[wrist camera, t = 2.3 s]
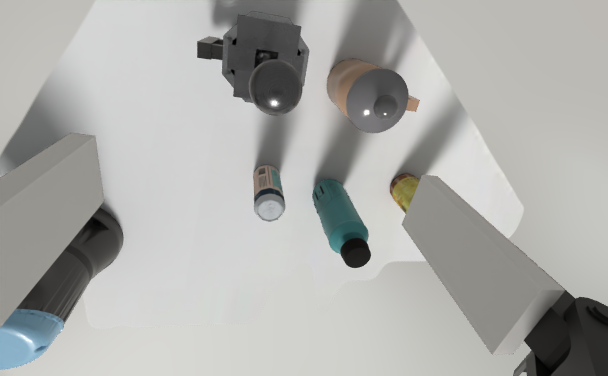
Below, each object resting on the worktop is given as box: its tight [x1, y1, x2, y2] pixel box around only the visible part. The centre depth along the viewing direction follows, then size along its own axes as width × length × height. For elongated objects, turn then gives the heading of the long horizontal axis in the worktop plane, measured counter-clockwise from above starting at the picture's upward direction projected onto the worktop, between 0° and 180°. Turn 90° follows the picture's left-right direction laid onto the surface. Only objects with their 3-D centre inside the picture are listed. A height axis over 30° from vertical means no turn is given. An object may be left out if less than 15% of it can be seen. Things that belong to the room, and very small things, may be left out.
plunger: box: [249, 49, 302, 115], centre depth 28 cm, size 6×6×20 cm
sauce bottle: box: [390, 174, 420, 214], centre depth 54 cm, size 6×6×20 cm
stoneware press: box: [327, 58, 420, 133], centre depth 44 cm, size 11×8×17 cm
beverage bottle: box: [312, 179, 371, 268], centre depth 51 cm, size 6×7×20 cm
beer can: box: [253, 165, 285, 222], centre depth 51 cm, size 5×5×12 cm
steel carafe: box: [197, 11, 309, 103], centre depth 39 cm, size 12×9×16 cm
